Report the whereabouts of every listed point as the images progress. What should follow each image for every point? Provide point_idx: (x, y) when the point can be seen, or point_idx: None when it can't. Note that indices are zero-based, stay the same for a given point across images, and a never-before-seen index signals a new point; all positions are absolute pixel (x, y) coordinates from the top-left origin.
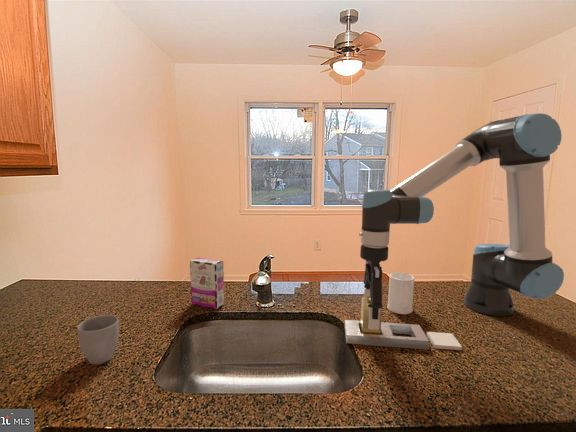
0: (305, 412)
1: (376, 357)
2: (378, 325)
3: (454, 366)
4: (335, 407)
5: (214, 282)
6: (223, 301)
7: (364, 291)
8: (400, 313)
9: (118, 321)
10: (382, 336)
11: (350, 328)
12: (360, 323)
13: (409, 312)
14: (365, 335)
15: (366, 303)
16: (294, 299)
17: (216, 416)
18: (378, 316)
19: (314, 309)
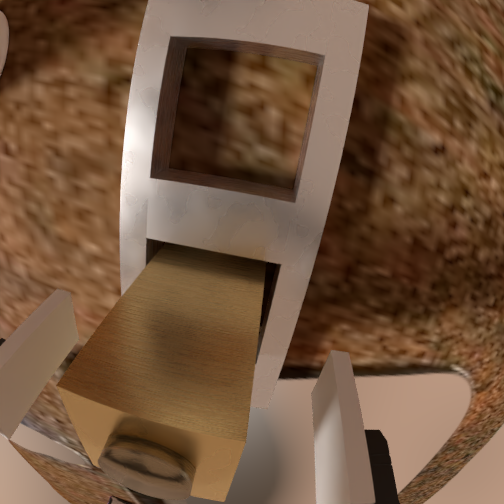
0: (471, 444)
1: (386, 307)
2: (351, 377)
3: (474, 8)
4: (490, 413)
5: None
6: (111, 502)
7: (11, 425)
8: (3, 61)
9: None
10: (298, 273)
11: None
12: None
13: (4, 21)
14: (278, 349)
15: (207, 491)
16: None
17: (419, 499)
18: (361, 435)
19: (50, 388)
